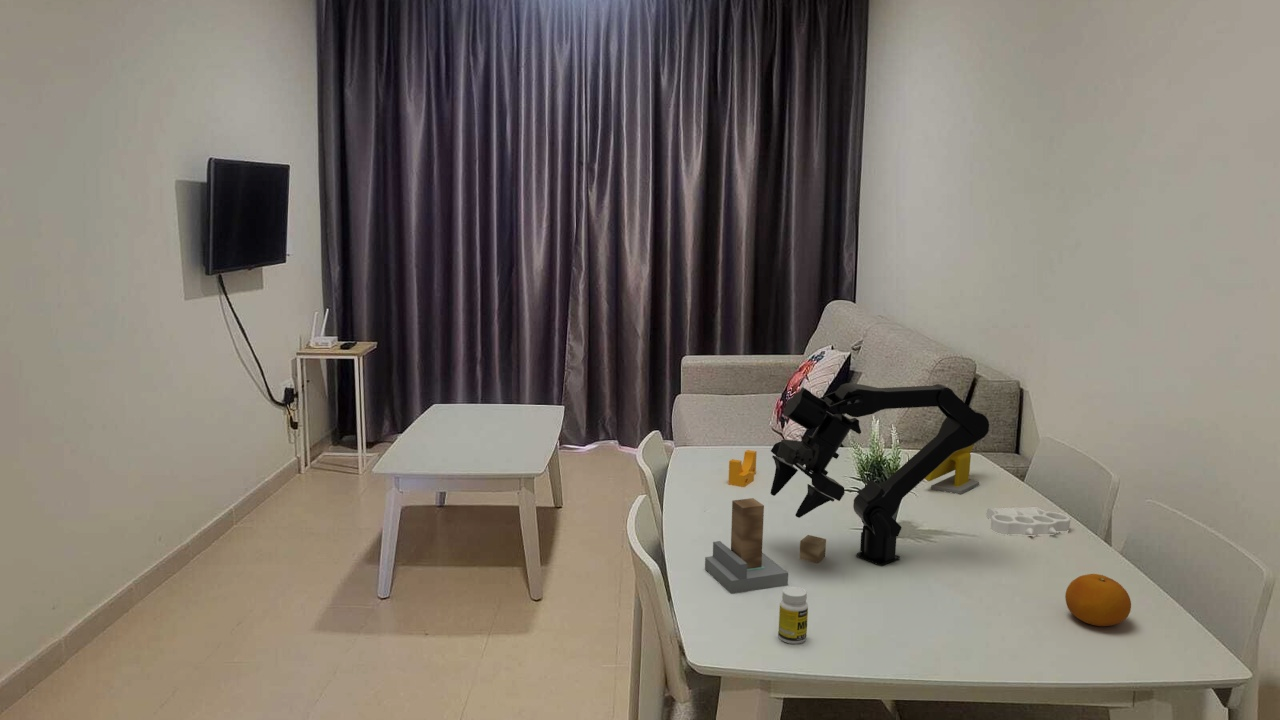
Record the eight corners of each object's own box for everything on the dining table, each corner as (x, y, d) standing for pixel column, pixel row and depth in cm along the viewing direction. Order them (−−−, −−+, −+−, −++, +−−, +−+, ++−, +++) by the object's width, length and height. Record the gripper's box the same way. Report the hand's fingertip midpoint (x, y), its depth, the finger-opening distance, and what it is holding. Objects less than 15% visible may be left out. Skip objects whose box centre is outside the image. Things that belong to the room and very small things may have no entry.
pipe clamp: (744, 488, 236) (744, 463, 235) (728, 485, 238) (729, 461, 237) (761, 475, 246) (762, 452, 245) (746, 473, 249) (747, 450, 247)
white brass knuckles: (1044, 516, 219) (1081, 539, 205) (972, 519, 216) (1005, 542, 202) (1045, 502, 218) (1083, 524, 204) (973, 505, 216) (1007, 528, 201)
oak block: (825, 557, 192) (826, 539, 191) (817, 563, 188) (818, 545, 188) (807, 553, 194) (808, 534, 193) (799, 559, 191) (800, 540, 190)
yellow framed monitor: (958, 475, 249) (963, 418, 246) (987, 481, 243) (992, 423, 241) (923, 491, 235) (927, 431, 232) (952, 498, 229) (957, 437, 226)
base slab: (758, 561, 189) (759, 535, 188) (787, 584, 178) (788, 557, 177) (704, 569, 185) (705, 542, 184) (731, 593, 174) (732, 565, 173)
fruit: (1143, 631, 161) (1148, 588, 159) (1089, 636, 159) (1094, 592, 157) (1101, 605, 171) (1106, 564, 169) (1051, 609, 169) (1055, 568, 167)
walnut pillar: (750, 558, 184) (753, 498, 181) (761, 567, 179) (763, 505, 177) (730, 561, 182) (732, 500, 180) (740, 570, 178) (742, 507, 176)
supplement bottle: (799, 647, 153) (802, 599, 152) (773, 639, 156) (775, 593, 154) (810, 635, 157) (813, 589, 156) (785, 628, 160) (787, 583, 158)
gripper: (774, 407, 189) (733, 471, 191) (827, 446, 173) (783, 516, 175) (809, 427, 195) (770, 489, 197) (864, 466, 179) (821, 533, 181)
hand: (784, 505), depth 187 cm, fingers open, 9 cm apart
